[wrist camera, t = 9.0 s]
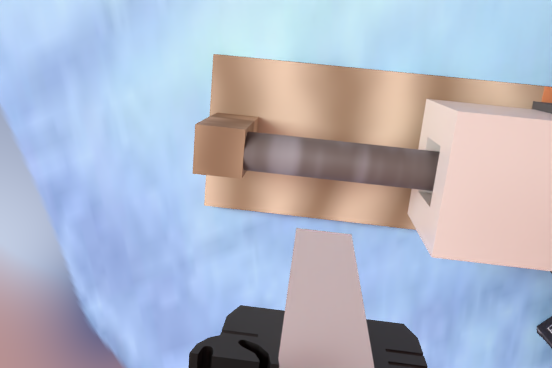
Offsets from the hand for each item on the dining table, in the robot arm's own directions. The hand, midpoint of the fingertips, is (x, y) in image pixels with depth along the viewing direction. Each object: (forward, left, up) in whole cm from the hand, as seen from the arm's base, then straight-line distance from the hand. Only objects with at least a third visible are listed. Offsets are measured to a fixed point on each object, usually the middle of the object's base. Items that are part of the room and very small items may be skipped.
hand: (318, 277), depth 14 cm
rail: (0, +7, -24) cm, 25 cm away
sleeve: (0, +10, -22) cm, 24 cm away
